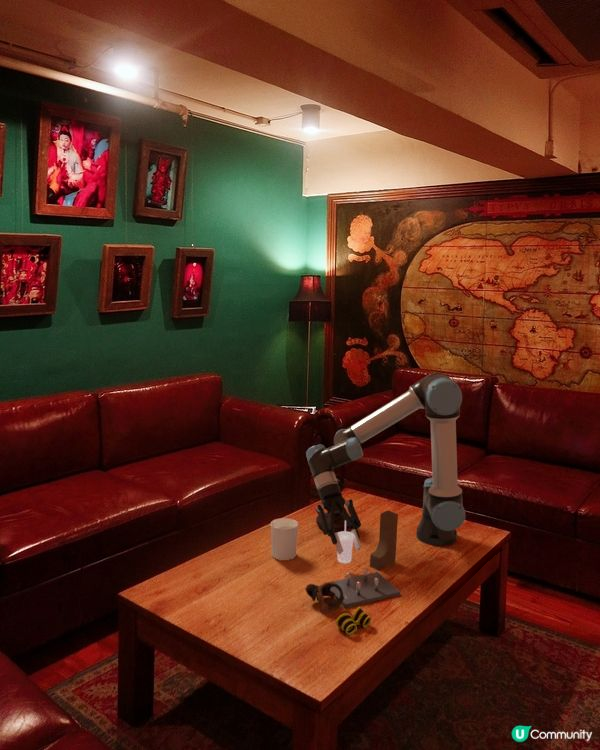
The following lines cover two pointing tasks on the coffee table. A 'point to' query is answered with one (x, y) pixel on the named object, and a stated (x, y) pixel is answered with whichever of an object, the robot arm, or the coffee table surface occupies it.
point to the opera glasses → (353, 621)
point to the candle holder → (284, 538)
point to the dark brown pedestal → (338, 519)
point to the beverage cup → (345, 546)
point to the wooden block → (385, 541)
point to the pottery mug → (324, 590)
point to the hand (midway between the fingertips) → (350, 550)
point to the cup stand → (364, 589)
